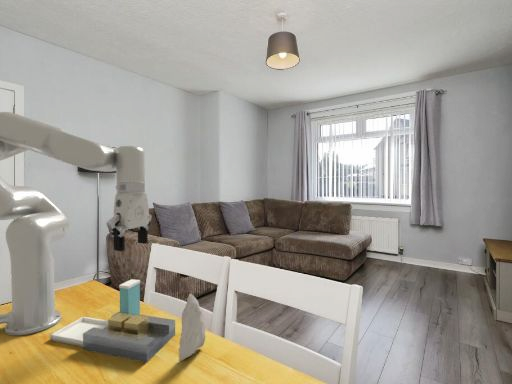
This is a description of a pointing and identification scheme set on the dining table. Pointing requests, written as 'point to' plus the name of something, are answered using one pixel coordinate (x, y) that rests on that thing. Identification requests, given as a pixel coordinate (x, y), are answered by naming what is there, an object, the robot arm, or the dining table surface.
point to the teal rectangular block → (130, 297)
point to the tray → (77, 330)
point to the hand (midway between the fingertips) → (131, 246)
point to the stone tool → (191, 328)
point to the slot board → (133, 355)
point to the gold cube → (136, 325)
